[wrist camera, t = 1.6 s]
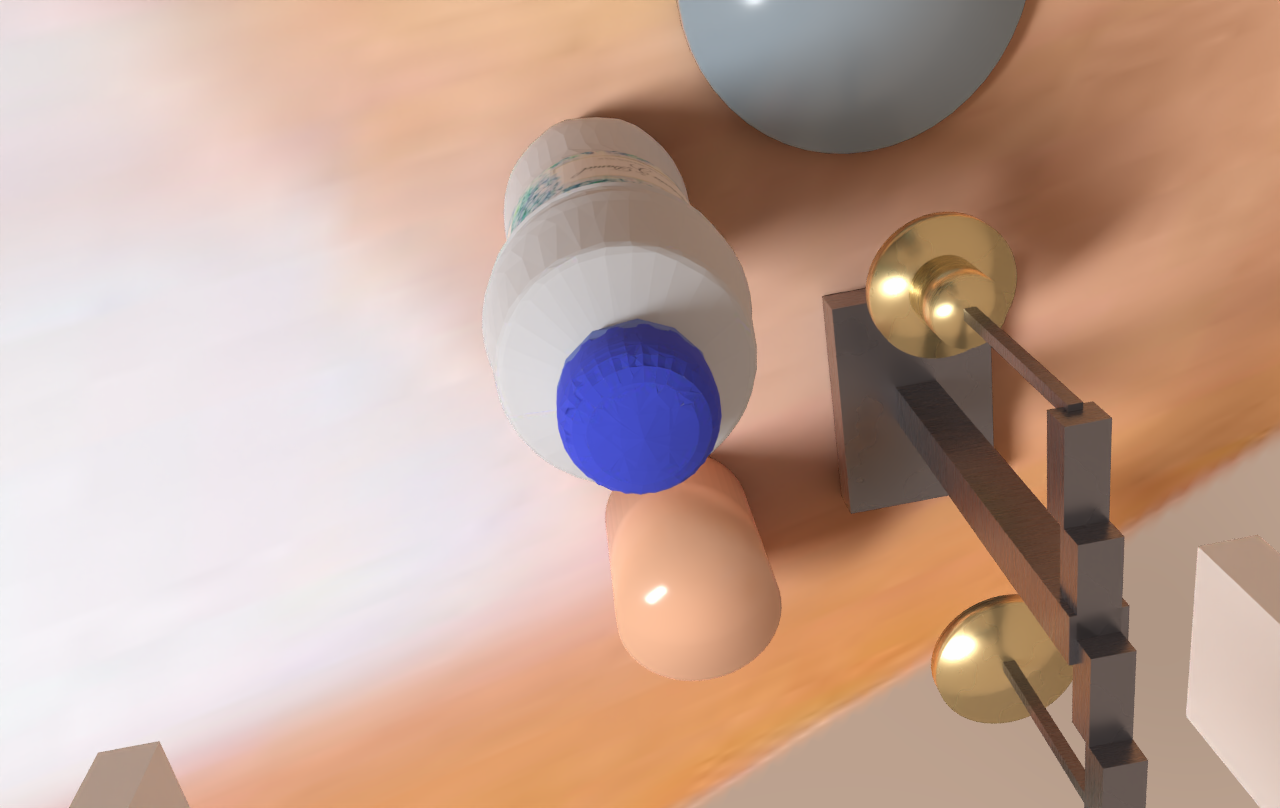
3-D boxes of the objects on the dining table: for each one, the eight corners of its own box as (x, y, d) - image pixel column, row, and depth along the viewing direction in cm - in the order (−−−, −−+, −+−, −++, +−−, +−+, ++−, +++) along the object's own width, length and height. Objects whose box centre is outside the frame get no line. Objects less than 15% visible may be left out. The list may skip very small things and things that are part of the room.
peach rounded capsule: (593, 466, 44) (602, 560, 37) (737, 439, 44) (771, 528, 37) (618, 587, 46) (631, 694, 40) (755, 561, 46) (789, 664, 40)
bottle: (714, 143, 39) (870, 345, 20) (641, 308, 41) (724, 620, 23) (539, 70, 37) (539, 218, 19) (474, 245, 39) (419, 527, 21)
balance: (812, 195, 40) (1006, 393, 23) (971, 166, 40) (1276, 342, 23) (848, 573, 47) (1016, 929, 30) (983, 548, 47) (1222, 889, 30)
